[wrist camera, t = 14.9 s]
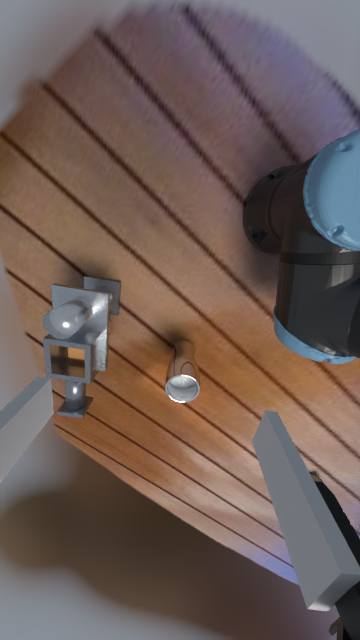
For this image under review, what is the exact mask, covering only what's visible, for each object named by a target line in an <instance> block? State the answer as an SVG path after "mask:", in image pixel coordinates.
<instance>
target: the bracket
mask: <svg viewBox="0 0 360 640" xmlns="http://www.w3.org/2000/svg"><path fill="white" fill-rule="evenodd" d="M43 344H44V355H45V367H46V377H49V378H56V379H63V380H65V391H66V400H65V402H64V403H63V404H62V406H61V407H60V408H59V410H58V411H57V415H64V416H71V417H78V418H83V417H84V415H85V413H86V411H87V410H88V408H89V406H90V404H91V403H92V401H93V397H89V396H86V383H89V384H90V383H91V382H92V380H93V379H94V377H95V376H96V374H97V373H98V371H99V370H100V367H101V334H100V333H94V332H88V331H81V330H78V331H77V332H75V333H74V334H73V335H72V336H71V337H69V338H66V339H58V338H55V337H53V336H51V335H50V334H48V335H47V336H45V337H44V338H43ZM66 347H70V348H76V349H83V350H85V362H82V361H75V360H69V359H66Z"/></svg>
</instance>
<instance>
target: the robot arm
mask: <svg viewBox="0 0 360 640" xmlns="http://www.w3.org/2000/svg"><path fill="white" fill-rule="evenodd" d="M243 226H244V230H245V233H246V236H247V238H248V239H249V241H250V242H251V243H252V244H253V245H254V246H255V247H256V248H257V249H259V250H261V251H263V252H266V253H271V254H281V258H280V265H279V275H278V285H277V295H276V305H275V306H274V311H273V313H274V331H275V333H276V336H277V338H278V339H279V340H280V342H281V343H282V344H283V345H285V346H286V347H287V348H288V349H290V350H292V351H293V352H295V353H297V354H299V355H301V356H303V357H306V358H309V359H312V360H315V361H320V362H322V361H323V360H325V361H327V362H328V363H332V364H342V363H347V362H350V361H352V360H354V359H355V358H356V357H357V358H360V129H358V130H356V131H354V132H352V133H350V134H349V135H347V136H344V137H342V138H339V139H337V140H335V141H334V142H331V143H330V144H328V145H327V146H326V147H325V148H323V149H322V150H321V151H320V152H319V153H317V154H316V155H314V156H313V157H311V158H310V159H309V160H307V161H306V162H304V163H303V164H301V165H290V166H285V167H281V168H279V169H276V170H274V171H272V172H271V173H269V174H268V175H267V176H265V177H264V178H263V179H262V180H260V181H259V182H258V183H257V184H256V186H255V187H254V188H253V189H252V191H251V193H250V194H249V196H248V198H247V201H246V203H245V207H244V212H243ZM53 413H54V412H53V399H52V386H51V378H45V377H37V378H36V379H35V380H33V381H32V382H31V383H30V384H29V385H28V386H27V387H26V388H25V389H24V390H23V391H21V392H20V393H19V394H18V395H17V396H16V397H15V398H14V399H13V400H12V401H11V402H10V403H8V404H7V405H6V406H5V407H4V408H3V409H2V410H1V411H0V483H1V482H2V480H3V479H4V478H5V476H6V475H7V474H8V472H9V471H10V470H11V468H12V467H13V466H14V464H15V463H16V462H17V461H18V459H19V458H20V457H21V455H22V454H23V453H24V451H25V450H26V449H27V447H28V446H29V445H30V443H31V442H32V441H33V440H34V438H35V437H36V436H37V434H38V433H39V432H40V430H41V429H42V428H43V427H44V425H45V424H46V423H47V421H48V420H49V419H50V417H51V416H52V415H53ZM252 443H253V446H254V449H255V452H256V455H257V458H258V461H259V464H260V467H261V470H262V473H263V476H264V479H265V482H266V485H267V488H268V491H269V494H270V497H271V500H272V503H273V506H274V509H275V512H276V515H277V518H278V521H279V524H280V527H281V530H282V533H283V536H284V539H285V542H286V546H287V549H288V552H289V555H290V558H291V561H292V564H293V567H294V570H295V573H296V576H297V579H298V582H299V585H300V588H301V591H302V594H303V597H304V600H305V603H306V606H307V609H314V610H321V611H328V610H329V609H330V608H332V607H333V606H334V605H336V608H337V610H338V612H339V615H340V617H339V619H337V620H336V621H335V622H334V623H333V624H332V625H331V626H330V629H329V633H330V634H331V635H334V634H335V633H336V632H337V640H360V539H359V537H358V535H357V533H356V532H355V530H354V528H353V527H352V525H350V521H349V520H348V518H347V516H346V515H345V513H343V509H342V508H341V506H340V504H339V503H338V501H337V499H336V497H335V496H334V494H333V493H332V492H331V491H330V490H329V489H328V488H327V486H326V485H325V484H324V483H323V482H318V481H314V480H313V479H312V477H311V475H310V473H309V471H308V469H307V467H306V465H305V464H304V462H303V460H302V458H301V456H300V454H299V452H298V450H297V449H296V447H295V445H294V443H293V441H292V439H291V437H290V435H289V434H288V432H287V430H286V428H285V426H284V424H283V422H282V420H281V419H280V417H279V415H278V413H277V412H272V411H265V412H264V415H263V417H262V419H261V422H260V424H259V427H258V429H257V432H256V434H255V436H254V439H253V441H252Z"/></svg>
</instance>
